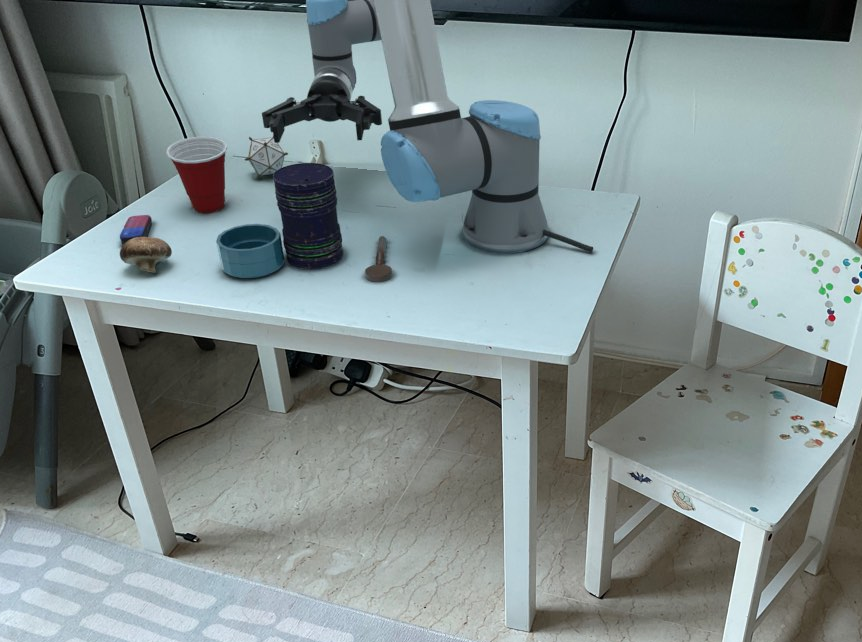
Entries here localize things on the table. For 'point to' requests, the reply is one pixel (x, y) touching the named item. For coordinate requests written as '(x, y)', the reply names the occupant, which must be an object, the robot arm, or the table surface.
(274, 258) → the bowl
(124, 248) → the mushroom
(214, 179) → the plastic cup
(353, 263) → the table surface
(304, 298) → the table surface
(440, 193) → the robot arm
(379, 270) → the spoon
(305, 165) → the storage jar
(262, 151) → the game die
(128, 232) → the eraser
